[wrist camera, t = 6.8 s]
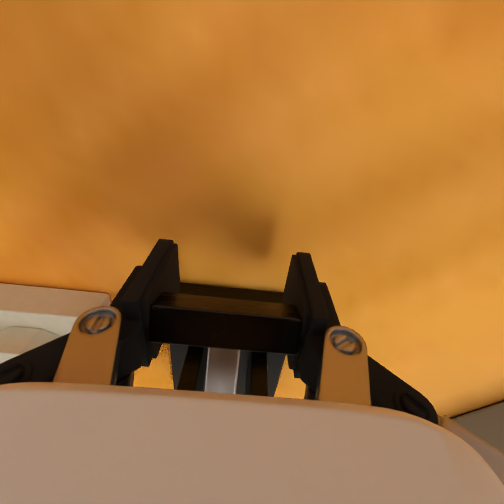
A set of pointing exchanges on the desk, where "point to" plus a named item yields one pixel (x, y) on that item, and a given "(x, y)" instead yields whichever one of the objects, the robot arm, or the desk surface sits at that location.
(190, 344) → the lever
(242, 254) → the desk surface
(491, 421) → the digital clock
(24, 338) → the control block
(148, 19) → the desk surface
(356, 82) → the desk surface
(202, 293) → the bracket
